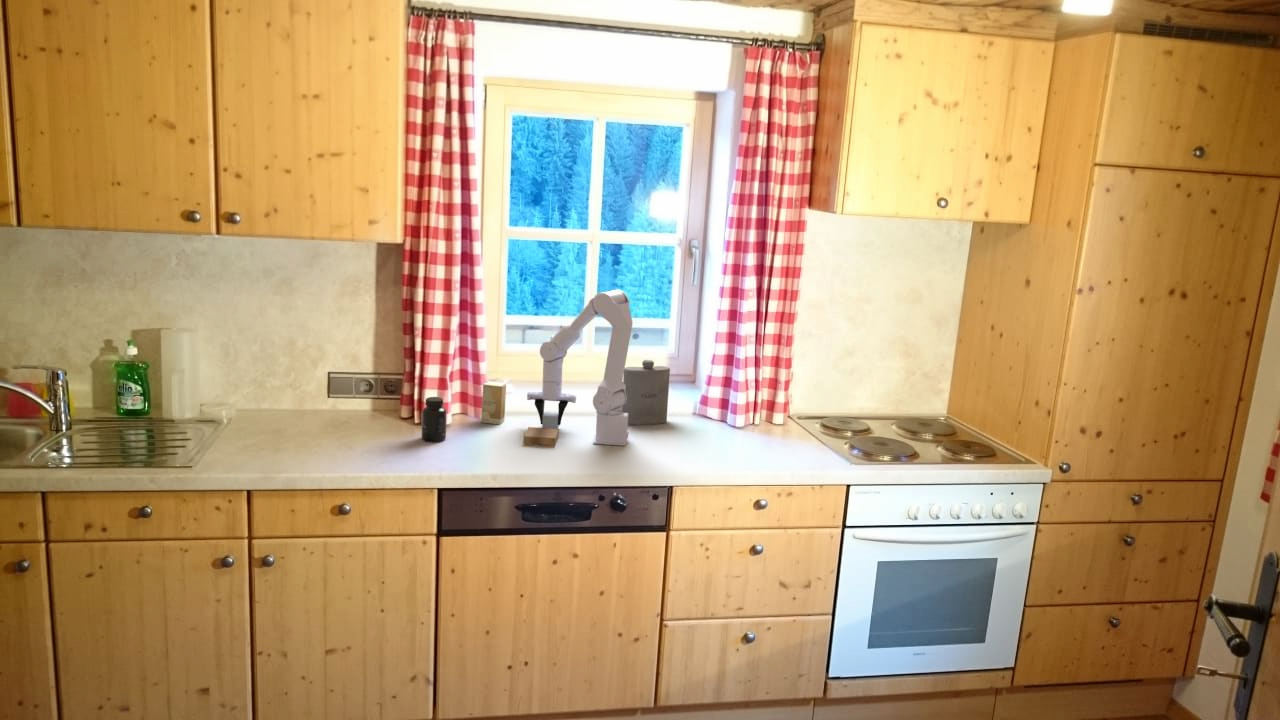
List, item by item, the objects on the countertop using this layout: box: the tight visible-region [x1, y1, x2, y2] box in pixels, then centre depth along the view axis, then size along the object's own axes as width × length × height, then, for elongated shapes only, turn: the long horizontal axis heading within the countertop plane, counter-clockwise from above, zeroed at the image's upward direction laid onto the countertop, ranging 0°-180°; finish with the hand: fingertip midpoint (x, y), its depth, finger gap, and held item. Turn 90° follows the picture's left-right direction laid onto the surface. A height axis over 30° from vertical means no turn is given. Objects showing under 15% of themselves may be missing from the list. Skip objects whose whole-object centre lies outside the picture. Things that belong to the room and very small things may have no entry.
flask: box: [622, 359, 671, 426], centre depth 293 cm, size 15×6×20 cm, turn 110°
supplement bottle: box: [421, 396, 447, 444], centre depth 265 cm, size 7×7×12 cm
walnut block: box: [522, 426, 560, 448], centre depth 270 cm, size 9×9×3 cm
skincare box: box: [480, 380, 507, 425], centre depth 285 cm, size 6×4×12 cm
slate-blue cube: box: [541, 411, 560, 429], centre depth 283 cm, size 4×4×4 cm
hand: (550, 423), depth 283 cm, fingers closed on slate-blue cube, 4 cm apart
